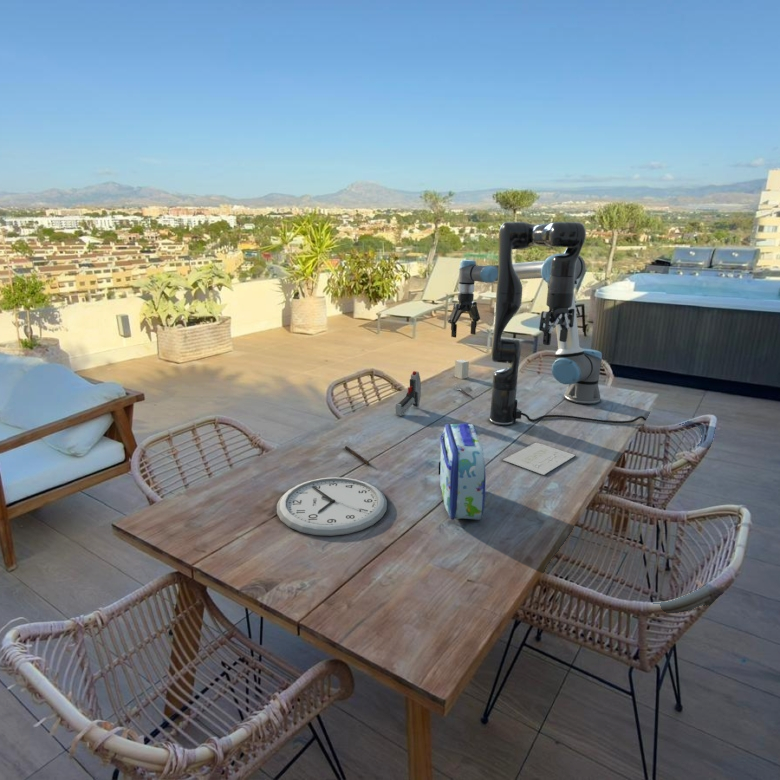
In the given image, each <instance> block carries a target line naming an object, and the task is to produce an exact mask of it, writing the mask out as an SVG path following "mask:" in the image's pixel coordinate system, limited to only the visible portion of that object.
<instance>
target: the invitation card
mask: <svg viewBox="0 0 780 780" xmlns="http://www.w3.org/2000/svg"><path fill="white" fill-rule="evenodd" d="M576 456H577V455H576V454H573V453H570V452H567V451H565V450H561V449H558V448H555V447H552V446H549V445H546V444H543V443H539V442H534V443H532V444H529V445H528V446H526V447H524V448H522V449H520V450H518V451H516V452H514V453H512V454H510V455H509V456H507V457H505V458H503V459H502V461H503V462H506V463H509V464H511V465H514V466H518V467H520V468H523V469H525V470H528V471H531V472H534V473H536V474H539V475H541V476H545V475H547V474H548V473H550V472H552V471H554V469H556V468H558V467H559V466H561V465H563V464H564V463H566V462H568V461H570V460H571V459H572V458H574V457H576Z"/></svg>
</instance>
